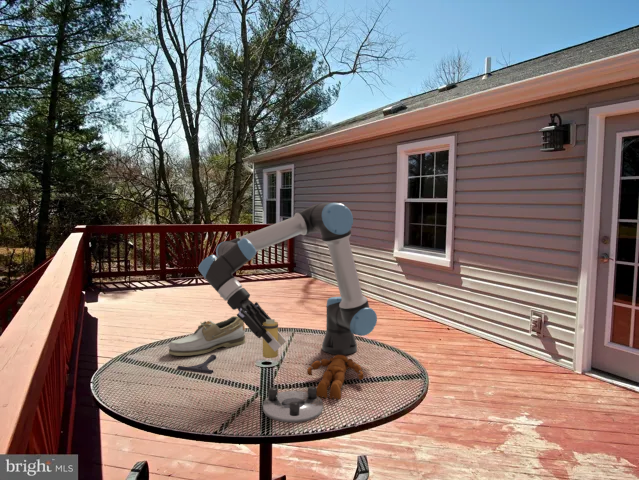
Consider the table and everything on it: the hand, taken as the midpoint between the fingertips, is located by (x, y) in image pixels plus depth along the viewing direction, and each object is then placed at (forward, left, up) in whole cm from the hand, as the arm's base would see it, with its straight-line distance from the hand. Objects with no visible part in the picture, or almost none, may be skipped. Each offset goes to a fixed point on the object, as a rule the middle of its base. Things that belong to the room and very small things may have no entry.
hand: (280, 346), depth 141 cm
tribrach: (-3, +14, -15) cm, 21 cm away
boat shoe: (+30, -47, -15) cm, 58 cm away
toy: (-19, -6, -15) cm, 26 cm away
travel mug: (+4, -1, -4) cm, 5 cm away
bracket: (+29, -26, -16) cm, 42 cm away
